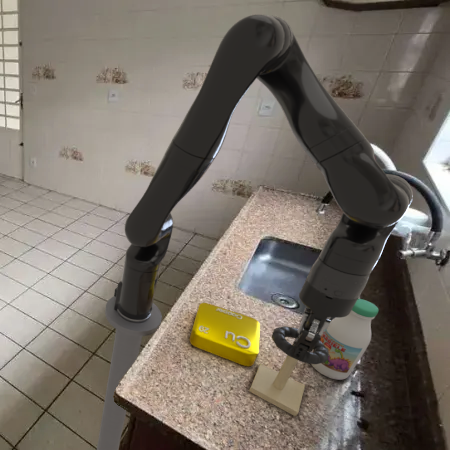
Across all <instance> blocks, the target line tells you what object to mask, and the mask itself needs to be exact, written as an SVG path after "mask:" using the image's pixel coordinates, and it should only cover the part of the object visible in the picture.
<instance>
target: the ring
mask: <svg viewBox="0 0 450 450" xmlns="http://www.w3.org/2000/svg"><path fill="white" fill-rule="evenodd" d="M297 331H298V327H291V326H287V325H286V326H285V325H283V326H280V327H276V328H274V330H273V331H272V334H271V339H272V341H273V343H274V344H275V346H276V347H277V348H278V349H279V350H280V351H282V353H284V354H286V356H287V355H288V356H290V352H291V350H292V348H293V343H291V342H289V341H288V340H287V339H286V338H291V339H296V337H297V335H298V332H297ZM313 350H314V352H313ZM313 350H312V351H311V352H307V354H306V356H305V358H304V360H303V361H300V360H298V359H297V360H298V362H301V363H306V364H309V365H310V364H320V363H323V362H326V361H327V360H328V355H329V351H328V349H327V348H326V347H325V345H324V344H323V343H322V342H321V341H320V340H319V341H318V343H317V344H316V345H315V347H314V348H313ZM290 357H291V356H290ZM292 358H294V357H292ZM294 359H296V358H294Z"/></svg>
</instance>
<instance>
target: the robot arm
mask: <svg viewBox="0 0 450 450" xmlns="http://www.w3.org/2000/svg"><path fill="white" fill-rule="evenodd" d="M256 79H257V80H258V81H259V82H260V83H261V84H262V85H263V86H264V87H266V89H267V90H268V91H269V92H270V93H271V95H272V96H273V97H274V99H275V100H276V102H277V103H278V105H279V106H280V108H281V110H282V112H283V114H284V117H285V120H286V121H287V124H288V127H289V128H290V131H291V133H292V135H293V136H294V138H295V139H296V141H297V143H298V144H299V146H300V147H301V149H302V150H303V152H304V153H305V154H306V156H307V157H308V158H309V159H310V160H311V162H312V163H313V164H314V166H315V167H316V169H318V170H319V172H320V173H321V174H322V177H323V178H324V181H325V183H326V185H327V187H328V189H329V191H330V194H331V196H332V197H333V200H334V201H335V203H336V204H337V206H338V208H339V209H340V210H341V212H342V214H341V217H340V219H339V221H338V223H337V225H336V227H335V228H334V229H333V230H332V232H331V233H329V236H328V237H327V238H326V241H325V243H324V244H323V247H322V248H321V251H320V253H319V255H318V257H317V259H316V260H315V261H314V263H313V264H312V266H311V268H310V270H309V271H308V274H307V276H306V279H305V280H304V283H303V284H302V287H301V289H300V291H299V293H298V299H299V300H300V302H301V303H302V304H303V305H304V309H303V313H302V316H301V319H300V321H299V322H300V324H299V326H298V327H297V328H298V331H297V332H298V335H297V337H296V338H294V341H293V343H292V345H294V346H293V348H292V350H291V352H290V356H291V357H294V358H296V359H298V361H299V360H300V361H299V362H301V361H303V360H304V358H305V356H306V354H307V352H313V348H314V347H315V345H316V344H317V343H318V341H319V340H320V339H321V336H322V334H323V332H324V330H325V329H327V328H328V326H329V324H330V322H331V321H332V320H331V318H340V317H345V316H347V315H349V313H350V312H351V310H352V308H353V307H354V305H355V303H356V301H357V300H358V299H360V296H361V295H362V293H363V292H364V290H365V288H366V285H367V283H368V281H369V279H370V276H371V273H372V272H373V270H374V268H375V266H376V265H377V263H378V261H379V259H380V258H381V255H382V253H383V250H384V248H385V245H386V243H387V240H388V238H389V237H390V236H391V234H392V232H393V231H394V229H395V228H396V227H397V225H398V224H399V222H400V220H401V219H403V217H404V216H405V215H406V214H407V212H408V210H409V207H410V206H411V203H412V202H413V197H414V192H413V189H412V187H411V185H410V183H408V181H407V180H405V178H402V177H401V176H398V175H395V174H391V173H386V172H385V171H384V170H383V169H382V167H381V166H380V165H379V163H378V161H377V160H376V159H375V150H374V147H373V146H372V144H371V143H370V141H369V139H368V138H366V135H364V133H363V132H362V131H361V130H360V129H359V127H358V126H357V125H356V124H355V122H354V121H353V120H352V118H350V117H349V115H348V113H346V112H345V110H344V109H343V108H342V106H341V105H340V104H339V103H338V102H337V101H336V99H334V97H333V96H332V95H331V94H330V92H329V91H328V90H327V88H326V87H325V86H324V85H323V83H322V82H321V80H320V79H319V78H318V76H317V75H316V73H315V72H314V70H313V68H312V66H311V65H310V64H309V62H308V60H307V58H306V56H305V54H304V52H303V50H302V48H301V46H300V44H299V42H298V40H297V38H296V35H295V34H294V32H293V29H292V28H291V26H290V24H289V23H288V21H287V20H285V19H283V18H282V17H280V16H275V15H268V14H262V13H257V14H250V15H247V16H244V17H243V18H241V19H239V20H238V21H237V22H235V23H234V24H232V26H231V27H230V28H228V30H227V31H226V33H225V34H224V35H223V37H222V39H221V41H220V43H219V44H218V47H217V50H216V52H215V54H214V56H213V59H212V61H211V64H210V66H209V68H208V71H207V73H206V76H205V78H204V80H203V83H202V85H201V87H200V89H199V91H198V93H197V95H196V97H195V99H194V100H193V102H192V104H191V106H190V107H189V109H188V110H187V113H186V115H184V118H183V120H182V122H181V123H180V124H179V127H178V129H177V130H176V133H175V134H174V135H173V137H172V139H171V140H170V143H169V144H168V146H167V148H166V150H165V152H164V154H163V156H162V159H161V160H160V163H159V164H158V165H157V168H156V170H155V172H154V174H153V175H152V178H151V180H150V182H149V184H148V186H147V188H146V190H145V191H144V193H143V195H142V197H141V198H140V199H139V200H138V202H137V204H136V205H135V207H133V209H132V211H131V212H130V214H129V215H128V217H127V218H126V220H125V223H124V236H125V237H126V239H127V241H128V243H130V245H129V246H128V247H127V249H126V251H125V255H124V260H123V262H124V263H123V269H122V275H121V280H120V281H119V282H118V283H117V287H116V288H115V289H114V292H113V293H114V294H113V297H114V296H115V297H116V300H115V306H114V310H116V311H117V312H118V314H119V315H120V316H121V317H122V318H123V319H125V320H127V321H130V322H134V323H142V322H145V321H147V320H148V319H149V318H150V314H151V310H152V304H153V303H154V299H155V294H156V289H157V284H158V281H159V276H160V271H161V267H162V263H163V260H164V259H165V258H166V255H167V252H168V250H169V245H170V243H171V239H172V234H173V230H174V218H173V215H172V212H173V210H174V208H175V207H176V206H177V205H178V204H179V203H180V202H181V201H182V200H183V199H184V198H185V196H187V194H189V192H191V190H192V189H193V188H194V187H195V186H196V185H197V184H198V183H199V181H200V180H201V179H202V178H203V177H204V175H205V174H206V173H207V171H208V169H209V168H210V167H211V165H212V164H213V163H214V160H215V159H216V157H217V156H218V154H219V153H220V151H221V148H222V147H223V144H224V142H225V139H226V137H227V133H228V129H229V127H230V123H231V120H232V117H233V115H234V113H235V111H236V109H237V107H238V105H239V103H240V102H241V101H242V99H243V98H244V96H245V95H246V93H247V92H248V91H249V89H250V88H251V86H252V85H253V83H255V81H256Z"/></svg>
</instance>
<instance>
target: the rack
mask: <svg viewBox="0 0 450 450" xmlns="http://www.w3.org/2000/svg"><path fill="white" fill-rule="evenodd" d="M292 345H293V344H292ZM293 346H294V345H293ZM298 362H299V360H297V359H294V358H292V357H290V356H288V355H287V354H286V356H285V359H284V361H283V362H282V365H281V367H280V369H279V371H277V370H275V369H273V368H271V367H269V366H267V365H265V364H263V363H259V366H258V367H257V370H256V373H255V375H254V377H253V380H252V383H251V385H250V388H249V390H248V392H249V393H252V394H253V395H255V396H257V397H259V398H261V399H262V400H264V401H266V402H268V403H269V404H271V405H273V406H275V407H277V408H279V409H280V410H282V411H284V412H287V413H288V414H290V415H292V416H293V417H297V416H298V414H299V412H300V407H301V404H302V399H303V396H304V391H305V387H306V385H305V384H303V383H301V382H300V381H297V380H296V379H293V378H292V377H291V375H292V373H293V372H294V370H295V368H296V366H297V364H298Z"/></svg>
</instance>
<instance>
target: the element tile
mask: <svg viewBox="0 0 450 450" xmlns="http://www.w3.org/2000/svg"><path fill="white" fill-rule="evenodd" d="M260 331H261V324H260V322H259V320H257V319H256V318H253V317H251V316H248V315H246V314H242V313H240V312H236V311H233V310H230V309H228V308H224V307H221V306H217V305H216V304H211V303H209V302H200V303H199V304H198V307H197V311H196V314H195V318H194V321H193V325H192V329H191V331H190V332H191V333H190V335H189V343H190V344H191V345H192V346H193V347H195V348H197V349H199V350H202V351H205V352H208V353H210V354H212V355H215V356H218V357H220V358H222V359H225V360H227V361H231V362H233V363H236V364H238V365H240V366H244V367H253V365H254V364H255V362H256V360H257V357H258V355H259V353H260V352H259V351H260V349H259V348H260Z"/></svg>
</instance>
